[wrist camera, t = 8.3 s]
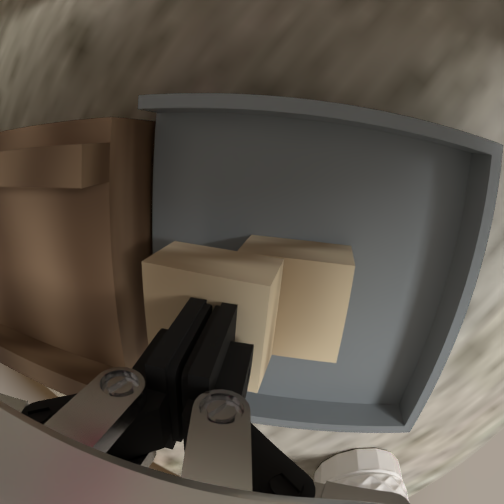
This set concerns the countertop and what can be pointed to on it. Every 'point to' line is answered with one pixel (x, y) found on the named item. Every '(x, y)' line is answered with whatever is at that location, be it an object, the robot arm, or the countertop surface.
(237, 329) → the chip
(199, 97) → the tray
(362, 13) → the countertop surface
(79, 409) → the robot arm
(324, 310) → the chip
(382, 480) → the white cup
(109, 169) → the brown wooden box
